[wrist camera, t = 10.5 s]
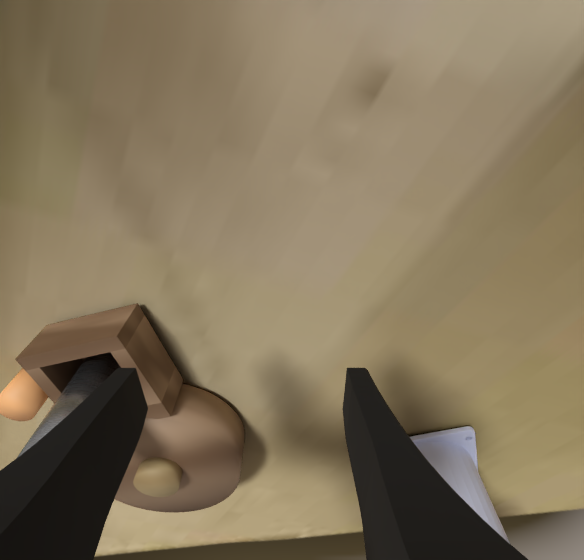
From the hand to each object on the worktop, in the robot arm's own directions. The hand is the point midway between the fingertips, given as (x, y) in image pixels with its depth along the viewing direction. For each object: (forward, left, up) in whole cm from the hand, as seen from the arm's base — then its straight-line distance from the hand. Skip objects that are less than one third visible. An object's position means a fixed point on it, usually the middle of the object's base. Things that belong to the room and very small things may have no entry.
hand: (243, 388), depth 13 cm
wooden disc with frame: (-9, +11, -9) cm, 17 cm away
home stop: (-4, +17, -9) cm, 20 cm away
